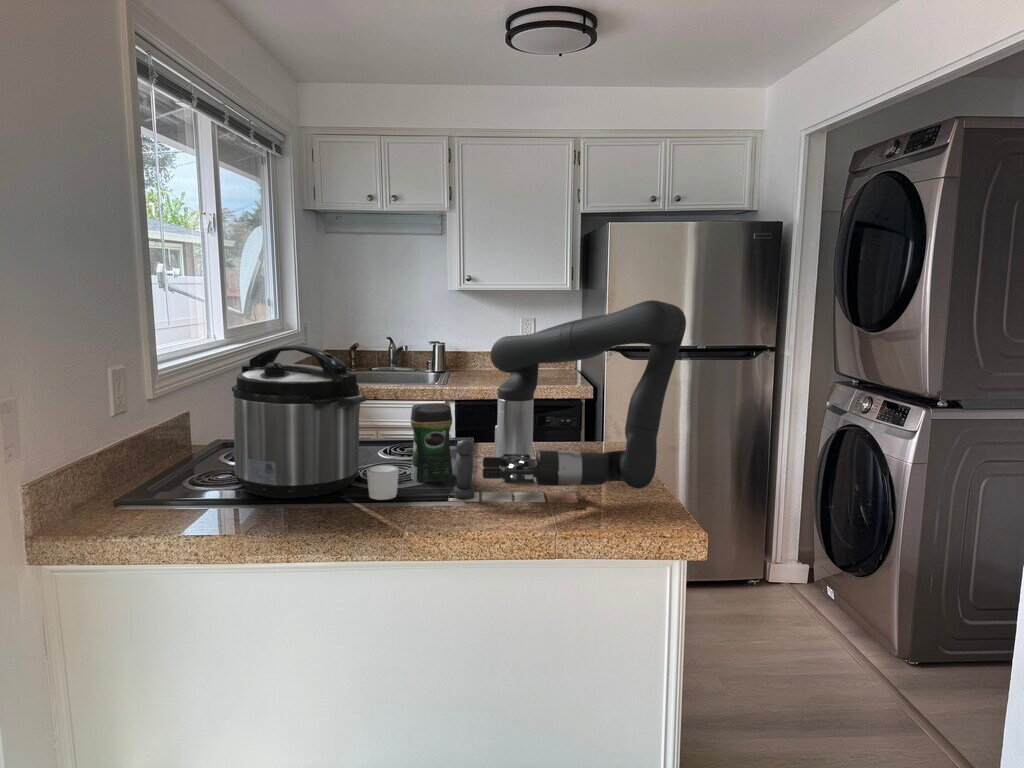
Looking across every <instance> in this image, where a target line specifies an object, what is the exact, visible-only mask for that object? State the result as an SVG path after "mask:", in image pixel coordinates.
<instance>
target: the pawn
mask: <svg viewBox="0 0 1024 768" xmlns="http://www.w3.org/2000/svg"><path fill="white" fill-rule="evenodd" d="M455 450H456V453H457V454H456V485H453V486H454V487H453V492H454V497H455V498H456V499H460V500H468V499H472V498H474V492H476V491H475V489H476V487H475V486H474V485H473V480H472V479H473V454H472V453H473V452H474V445H473V444H472V442H471V441H470V440H468V439H461V440H459V441H458V442H457V444H456V448H455Z"/></svg>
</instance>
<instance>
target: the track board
mask: <svg viewBox="0 0 1024 768" xmlns="http://www.w3.org/2000/svg"><path fill="white" fill-rule="evenodd" d="M513 495H514V502H515V503H546V499H547V502H548V503H579V500H578V498H580V499H583V496H582V494H581V491H580V490H562V492H545V494H544V492H521V491H520V492H517V491H516V492H515V491H514V492H513ZM513 495H512V492H511V491H510V492H507V491H505V492H503V491H502V492H501V491H494V492H493V491H482V492H481V502H483V503H484V502H485V503H486V502H487V503H491V502H494V503H498V502H499V503H513V497H512V496H513ZM545 495H546V498H545ZM447 501H448V502H477V503H478V502H480V492H479V491H475V492H474V498H472V499H468V500H460V499H456V498H449V497H448V500H447ZM586 510H587V506H583V507H580V508H579V507H578V508H576V509H575V508H574V511H586Z"/></svg>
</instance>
